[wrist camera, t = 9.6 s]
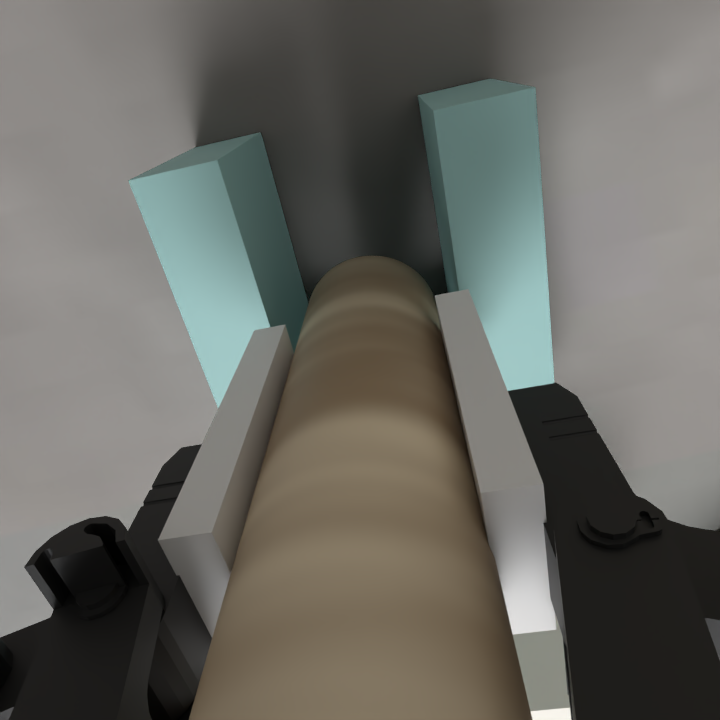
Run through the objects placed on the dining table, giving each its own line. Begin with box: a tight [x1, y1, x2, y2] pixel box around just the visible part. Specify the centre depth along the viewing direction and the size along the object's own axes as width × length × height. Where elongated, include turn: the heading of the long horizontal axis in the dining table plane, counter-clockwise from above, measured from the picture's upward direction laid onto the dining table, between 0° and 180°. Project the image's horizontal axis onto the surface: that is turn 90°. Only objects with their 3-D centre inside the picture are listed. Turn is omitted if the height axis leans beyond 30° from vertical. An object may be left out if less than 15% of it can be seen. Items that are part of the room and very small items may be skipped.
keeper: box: [128, 79, 554, 408], centre depth 18 cm, size 12×9×6 cm
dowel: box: [189, 256, 532, 720], centre depth 9 cm, size 4×4×15 cm
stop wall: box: [513, 614, 571, 720], centre depth 22 cm, size 4×11×9 cm, turn 102°
